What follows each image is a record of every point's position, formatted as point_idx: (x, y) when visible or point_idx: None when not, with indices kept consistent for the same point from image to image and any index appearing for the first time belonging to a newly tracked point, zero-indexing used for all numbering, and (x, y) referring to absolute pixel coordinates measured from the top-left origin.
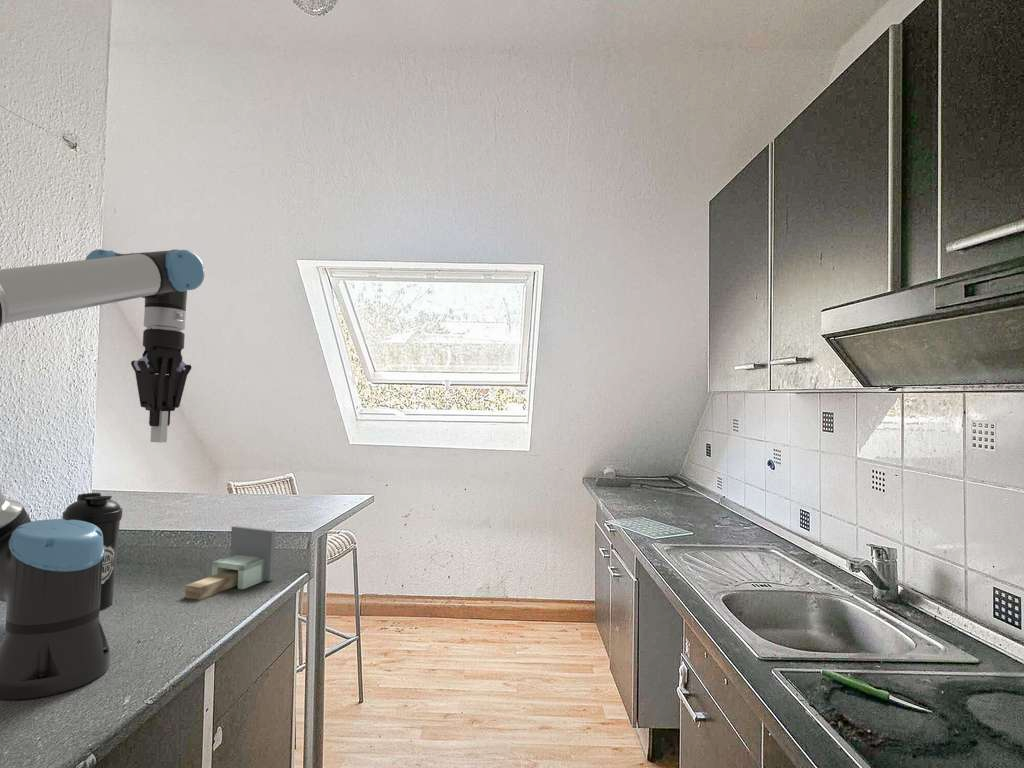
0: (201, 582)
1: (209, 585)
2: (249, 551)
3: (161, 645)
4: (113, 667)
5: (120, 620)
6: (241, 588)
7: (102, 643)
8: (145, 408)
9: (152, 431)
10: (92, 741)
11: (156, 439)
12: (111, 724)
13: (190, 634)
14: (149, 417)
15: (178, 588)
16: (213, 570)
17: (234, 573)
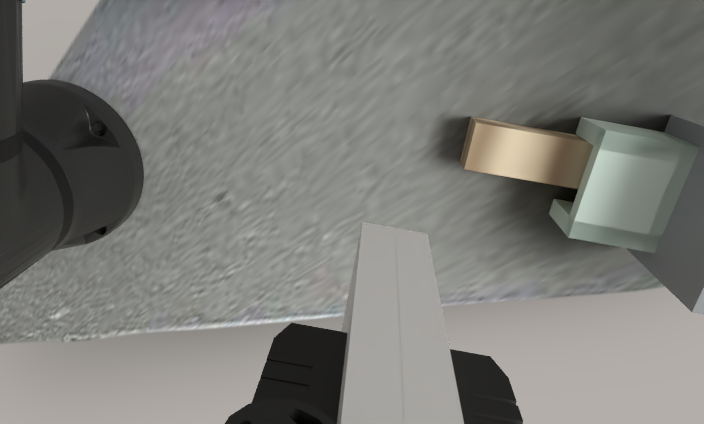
0: (505, 146)
1: (493, 173)
2: (686, 203)
3: (217, 244)
4: (124, 229)
5: (301, 80)
6: (550, 210)
7: (77, 244)
8: (231, 419)
9: (354, 284)
10: None
11: (349, 295)
12: (9, 335)
13: (273, 261)
14: (255, 393)
15: (539, 51)
16: (594, 129)
17: None
